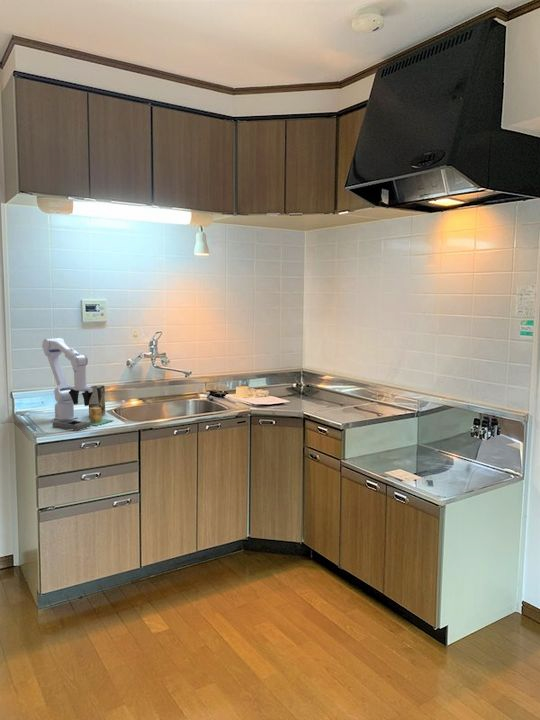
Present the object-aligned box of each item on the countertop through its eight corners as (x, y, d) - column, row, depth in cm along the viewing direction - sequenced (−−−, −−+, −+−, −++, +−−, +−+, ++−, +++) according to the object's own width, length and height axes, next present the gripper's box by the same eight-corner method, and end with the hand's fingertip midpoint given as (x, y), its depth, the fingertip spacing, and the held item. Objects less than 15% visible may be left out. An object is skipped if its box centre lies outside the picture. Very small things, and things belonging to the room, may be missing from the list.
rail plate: (52, 426, 274) (52, 421, 274) (65, 423, 281) (65, 418, 281) (77, 431, 266) (77, 425, 266) (89, 427, 273) (89, 422, 273)
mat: (79, 423, 281) (78, 422, 281) (96, 418, 291) (96, 417, 291) (96, 426, 275) (96, 425, 275) (113, 421, 286) (113, 420, 286)
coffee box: (100, 417, 294) (99, 388, 292) (88, 417, 294) (87, 387, 292) (106, 413, 303) (104, 385, 301) (94, 413, 303) (93, 385, 301)
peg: (90, 421, 282) (89, 408, 281) (95, 420, 286) (95, 407, 285) (96, 422, 280) (95, 409, 279) (101, 421, 284) (101, 407, 283)
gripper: (63, 378, 279) (64, 405, 281) (84, 381, 273) (85, 407, 274) (74, 376, 285) (75, 402, 287) (95, 379, 279) (96, 405, 281)
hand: (81, 404), depth 281 cm, fingers open, 7 cm apart
